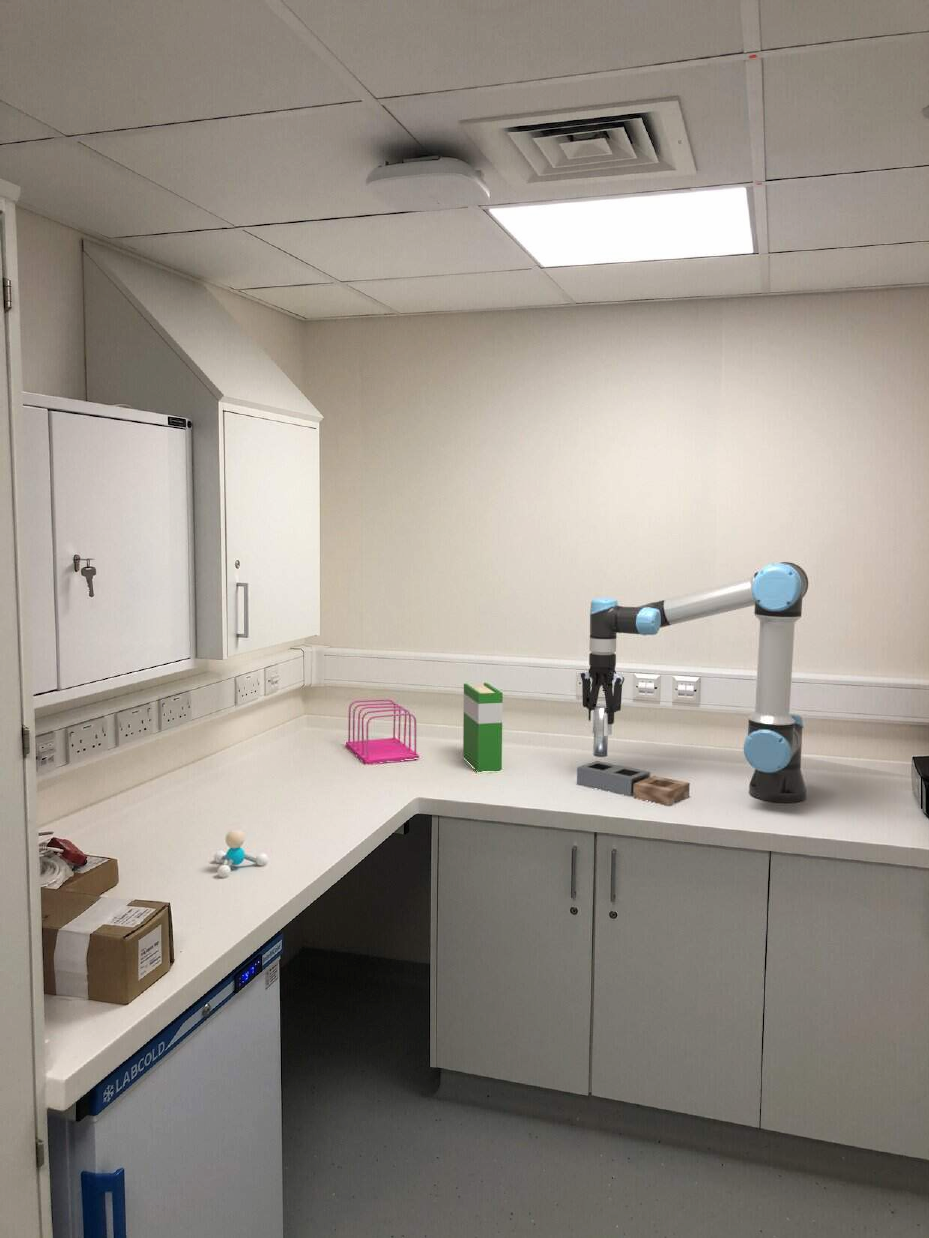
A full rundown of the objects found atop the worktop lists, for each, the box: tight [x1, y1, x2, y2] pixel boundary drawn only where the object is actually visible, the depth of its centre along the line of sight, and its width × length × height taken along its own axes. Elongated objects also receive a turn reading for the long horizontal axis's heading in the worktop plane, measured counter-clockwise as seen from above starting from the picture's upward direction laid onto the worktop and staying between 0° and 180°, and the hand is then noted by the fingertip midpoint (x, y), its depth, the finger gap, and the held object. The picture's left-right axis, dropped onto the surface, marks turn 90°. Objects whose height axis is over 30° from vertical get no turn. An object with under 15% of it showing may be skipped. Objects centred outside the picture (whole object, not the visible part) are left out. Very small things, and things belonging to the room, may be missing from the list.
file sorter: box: [345, 699, 420, 765], centre depth 312 cm, size 17×25×16 cm
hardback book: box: [462, 682, 504, 772], centre depth 298 cm, size 18×7×24 cm, turn 14°
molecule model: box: [213, 829, 269, 879], centre depth 212 cm, size 12×12×9 cm
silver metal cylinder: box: [592, 705, 609, 758], centre depth 278 cm, size 4×4×14 cm
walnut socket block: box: [632, 775, 691, 807], centre depth 266 cm, size 11×11×4 cm
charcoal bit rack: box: [576, 760, 651, 798], centre depth 276 cm, size 18×10×5 cm, turn 49°
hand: (600, 733), depth 278 cm, fingers closed on silver metal cylinder, 4 cm apart
